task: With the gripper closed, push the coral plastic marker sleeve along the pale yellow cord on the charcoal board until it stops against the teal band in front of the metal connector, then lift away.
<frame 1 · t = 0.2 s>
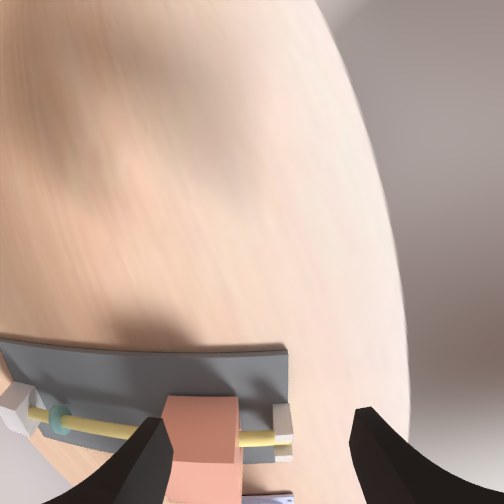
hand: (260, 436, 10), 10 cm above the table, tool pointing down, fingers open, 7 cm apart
marker sleeve: (202, 452, 18), point 4 cm above the table, slide at 0.0 cm
cord rig: (136, 410, 22), on the table
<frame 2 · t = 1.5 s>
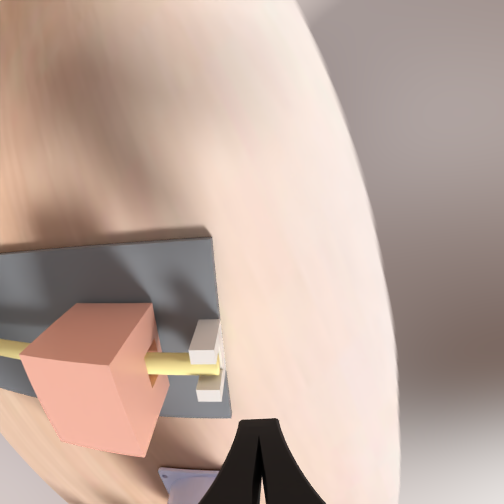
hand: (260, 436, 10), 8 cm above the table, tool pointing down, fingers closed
marker sleeve: (103, 374, 14), point 4 cm above the table, slide at 0.0 cm
cord rig: (53, 334, 18), on the table
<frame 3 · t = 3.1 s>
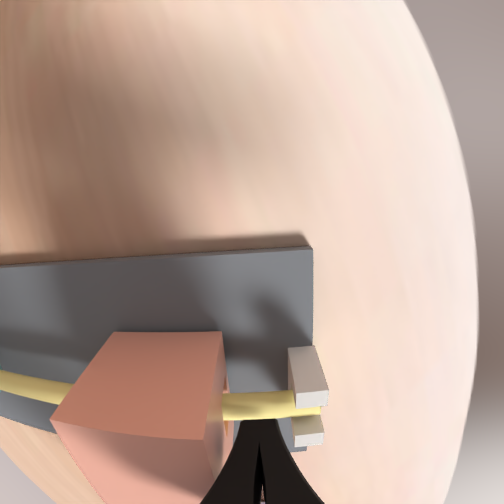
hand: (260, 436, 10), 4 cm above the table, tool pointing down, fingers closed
marker sleeve: (161, 426, 11), point 4 cm above the table, slide at 0.4 cm, touching gripper
cord rig: (83, 366, 15), on the table
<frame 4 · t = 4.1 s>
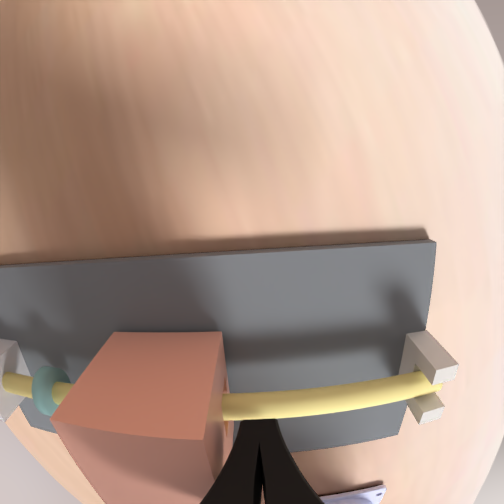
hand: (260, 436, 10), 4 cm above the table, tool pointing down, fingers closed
marker sleeve: (161, 426, 11), point 4 cm above the table, slide at 6.1 cm, touching gripper
cord rig: (182, 372, 15), on the table
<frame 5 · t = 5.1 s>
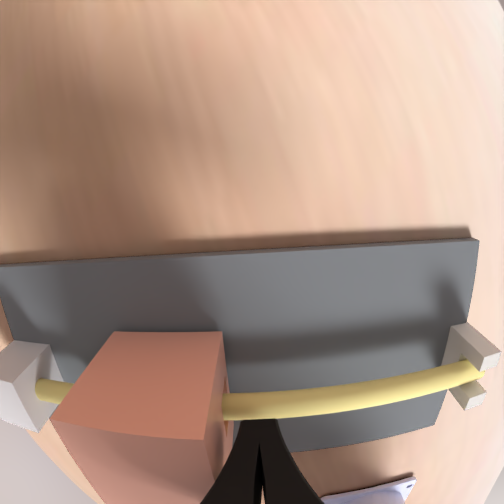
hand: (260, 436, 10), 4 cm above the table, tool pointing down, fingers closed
marker sleeve: (161, 426, 11), point 4 cm above the table, slide at 8.9 cm, touching gripper
cord rig: (237, 371, 15), on the table
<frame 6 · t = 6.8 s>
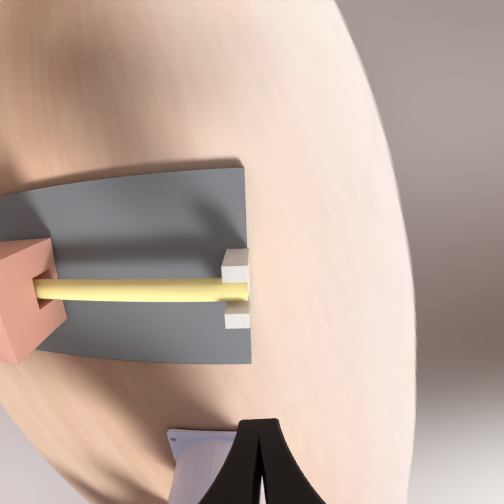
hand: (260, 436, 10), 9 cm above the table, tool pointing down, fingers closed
marker sleeve: (6, 295, 15), point 4 cm above the table, slide at 8.9 cm
cord rig: (69, 275, 19), on the table
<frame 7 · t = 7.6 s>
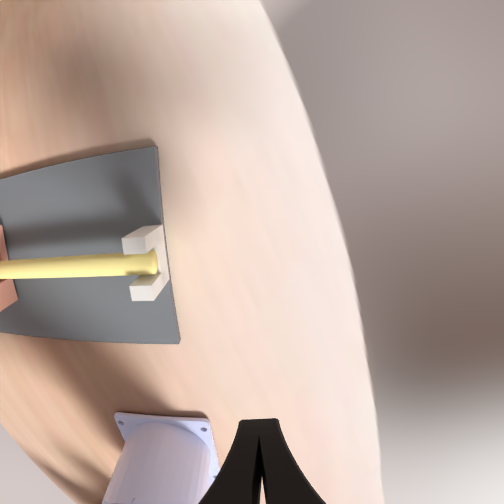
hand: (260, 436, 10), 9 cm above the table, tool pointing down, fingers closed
cord rig: (19, 259, 18), on the table
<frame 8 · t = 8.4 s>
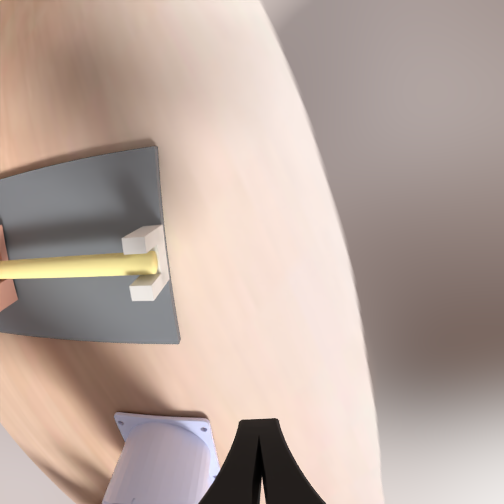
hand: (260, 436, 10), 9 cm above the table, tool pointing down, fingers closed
cord rig: (19, 259, 18), on the table
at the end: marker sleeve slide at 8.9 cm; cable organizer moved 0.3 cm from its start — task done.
